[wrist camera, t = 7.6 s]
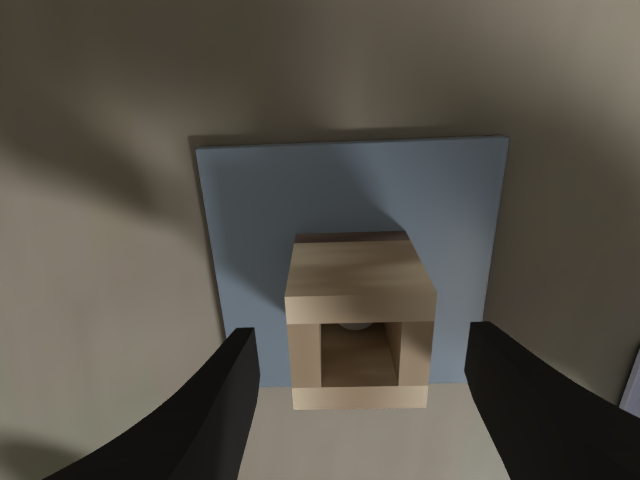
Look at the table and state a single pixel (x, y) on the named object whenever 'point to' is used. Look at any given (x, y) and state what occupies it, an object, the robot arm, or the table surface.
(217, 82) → the table surface
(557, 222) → the table surface
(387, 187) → the pin plate
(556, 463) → the robot arm
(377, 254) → the sleeve
